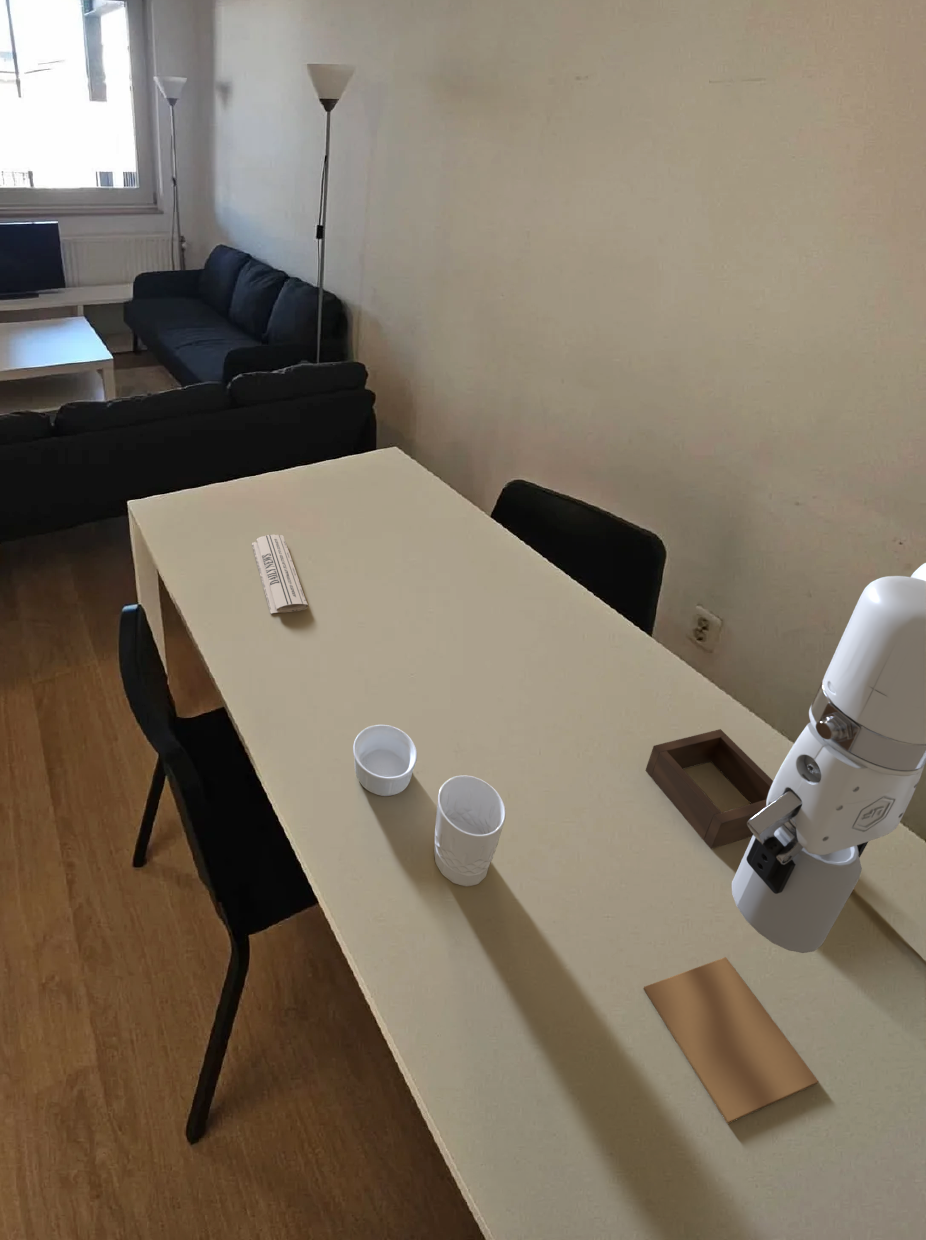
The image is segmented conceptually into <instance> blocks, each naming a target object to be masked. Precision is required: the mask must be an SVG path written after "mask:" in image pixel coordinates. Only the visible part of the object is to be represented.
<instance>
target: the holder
mask: <svg viewBox="0 0 926 1240" xmlns="http://www.w3.org/2000/svg"><path fill="white" fill-rule="evenodd" d="M710 762H711V763H712V765H714V766H715V768H716V769H717V770H718V771H719V772H720V773H721V774H722V775H723V776H724V777H725V778H726V779H727V780H728V781H729V782H730V783H731V785H733V786H734V787H735V789H736V790H737V791H738V792H739V793H740V794H741V795H742V796H743V797H744V798H745V799H746V800H747V801H748V802H749V803H750V804H745V805H743V806H739V807H736V808H733V809H729V810H726V811H721V810H720V808H718V806H717V805H716V804H715V803H714V802H713V801H712V800H711V799H710V798H709V797H708V795H707V794H706V793H705V792H704V791H703V790H702V789H701V787H700V786H699V785H698V784H697V783H696V781H694V780H693V779H692V777H691V776H689V774H688V773H687V772H686V771H685V769H688V768H692V767H695V766H700V765H704V764H707V763H710ZM645 772H646V773H647V774H648V776H649V777H650V778H651V779H652V781H653V782H654V783H655V784H656V785H657V787H658V788H659V789H660V790H661V791H662V793H663V794H664V795H665V797H667V799H668V800H669V801H670V802H671V804H673V806H674V807H675V808H676V809H677V810H678V812H679V813H680V814H681V815H682V816H683V818H684V819H685V820H686V821H687V823H688V824H689V825H690V826H691V828H693V830H694V831H695V832H696V833H697V834H698V836H699V837H700V838H701V840H702V841H703V842H704V843H705V844H706V845H707V846H708V847H709V849H710V850H712V849H716V848H719V847H722V846H725V845H728V844H732V843H734V842H739V841H741V840H745V839H748V838H752V836H753V834H752V833H751V830H750V829H749V827H748V825H747V822H748V820H749V819H750V818H752V817H753V816H755V815H756V814H757V813H759V812H760V811H761V810H763V809H764V808H766V807H767V806H766V801H767V796H768V793H769V790H770V788H771V785H772V783H773V781H774V779H772V778H771V777H770V776H769V775H768V774H767V773H766V772H765V771H764V770H763V769H762V768H761V767H760V766H759V765H758V764H757V763H755V761H754V760H752V758H751V757H750V756H749V755H748V754H747V753H746V752H744V750H742V748H741V747H739V746H738V745H737V744H736V743H735V742H734V741H733V739H732V738H730V737H729V736H728V735H727V734H726V733H725V732H724V731H723V730H722V729H721V728H719V729H715V730H711V731H707V732H703V733H699V734H695V735H691V736H688V737H682V738H679V739H675V740H671V741H667V742H663V743H658V744H654V745H653V746H652V749H651V752H650V755H649V758H648V761H647V763H646V766H645Z"/></svg>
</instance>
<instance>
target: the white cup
mask: <svg viewBox="0 0 926 1240" xmlns="http://www.w3.org/2000/svg"><path fill="white" fill-rule="evenodd" d="M436 806H437V807H436V816H435V827H434V845H433V854H434V855H433V856H434V862H435V865H436V866H437V868H438V870H439V872H440V873H441V875H442V876H444V877H445V878H446V879H448V881H450V882H451V883H453V884H455V885H459V886H462V887H470V886H476V885H479V884H480V883H481V882H482V881H483V880H484V879H485V878H486V877H487V875H488V871H489V867H490V865H491V863H492V861H493V859H494V856H495V853H496V850H497V847H498V844H499V841H500V837H501V834H502V832H503V828H504V825H505V821H506V814H507V811H506V807H505V803H504V800H503V798H502V797H501V795H500V793H499V791H497V790H496V789H495V787H493V786H492V785H491V784H489V783H488V782H487V781H485V780H483V779H481V778H479V777H476V776H472V775H463V774H462V775H456V776H453V777H450V778H448V779H447V780H446V781H445V782H444V783H442V785H441V786H440V788H439V791H438V796H437V805H436Z"/></svg>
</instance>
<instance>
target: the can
mask: <svg viewBox="0 0 926 1240" xmlns="http://www.w3.org/2000/svg"><path fill="white" fill-rule="evenodd" d="M796 816H797V815H796ZM796 816H795V817H793V818H792V820H793V821H794V822H795V823H796ZM774 835H775V836H776V838H777V839H778V840H779V841H780V842H781V843H782V844H783V845H784V846H786V845H787V844H788V843H789V842H790V841H791V840H792V839H793V838H794V836H793V835H792V834H791V832H790V831H789V830H788V829H787V828H786V827H785V826H784V825H782V826H781V827H780V828H778V829H777V830H776V831H775V832H774ZM750 838H751V839H750V841H749V842H748V845H747V847H746V850H745V852H744V854H743V856H742V858H741V860H740V863H739V865H738V868H737V870H736V872H735V874H734V876H733V879H732V881H731V895H732V897H733V900H734V903H735V906H736V907H737V909H738V910H739V912H740V913H741V916H742V917H743V918H744V919H745V921H746V922H747V923H748V924H749V925H750V926H751V927H752V928H753V929H754V930H755V931H756V932H757V933H758V934H760V935H761V936H762V937H763V938H764V939H766V940H767V941H769V942H771V943H772V944H774V945H776V946H778V947H780V948H782V949H785V950H787V951H788V952H795V953H800V954H806V953H813V952H816V951H817V950H818V949H820V947H822V946H823V944H824V942H825V940H826V939H827V937H828V935H829V933H830V931H831V930H832V928H833V927H834V924H835V923H836V921H837V919H838V918H839V915H840V914H841V912H842V911H843V908H844V907H845V905H846V903H847V901H848V900H849V898H850V896H851V894H852V892H853V890H854V889H855V887H856V885H857V884H858V881H859V880H860V878H861V874H862V871H863V867H862V863H861V858H859V856H858V855H859V851H858V847H857V845H856V846H853V847H850V848H847V849H843V850H840V851H837V852H833V853H830V854H826V855H815V854H811V853H809V852H808V851H806V849H805V848H803V849H802V850H801V851H800V852H799V853H798V854H797V855H796V856H795V857H794V858H793V859H792V860H793V861H794V863H795V864H796V865H795V867H794V869H793V871H792V873H791V875H790V877H789V879H788V881H787V883H786V885H785V887H784V889H783V891H782V892H781V893H778V894H775V893H773V892H772V890H771V889H770V888H769V887H768V886H767V885H766V884H765V882H764V881H763V880H762V879H761V878H760V877H759V876H758V874H757V873H756V872H755V871H754V870H753V868H752V867H751V866H750V865H749V864H748V862H747V856H748V854H749V851H750V849H751V847H752V845H753V842H754V840H755V838H756V837H755V836H754V835H753V836H752V837H750Z"/></svg>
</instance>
